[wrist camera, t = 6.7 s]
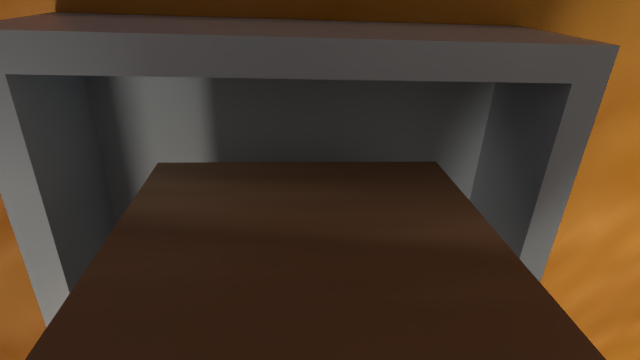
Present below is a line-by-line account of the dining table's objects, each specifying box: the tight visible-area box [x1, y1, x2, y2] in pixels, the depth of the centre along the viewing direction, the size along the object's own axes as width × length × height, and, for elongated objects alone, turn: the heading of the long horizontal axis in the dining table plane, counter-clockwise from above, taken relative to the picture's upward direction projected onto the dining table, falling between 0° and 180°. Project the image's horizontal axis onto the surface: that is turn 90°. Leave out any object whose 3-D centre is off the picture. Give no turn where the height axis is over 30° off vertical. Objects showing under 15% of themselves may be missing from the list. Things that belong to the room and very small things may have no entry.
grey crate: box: [0, 12, 620, 328], centre depth 11 cm, size 11×11×4 cm
